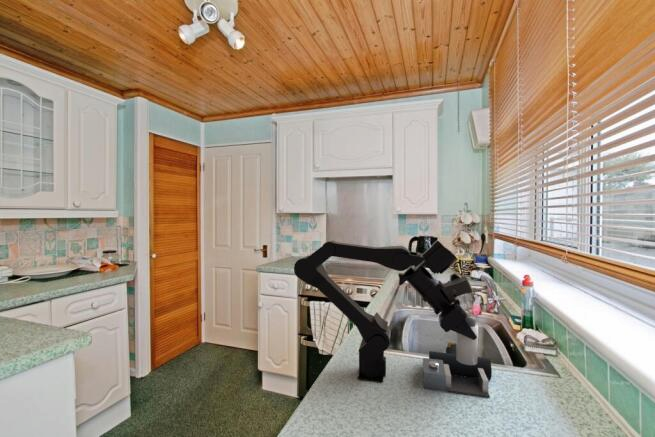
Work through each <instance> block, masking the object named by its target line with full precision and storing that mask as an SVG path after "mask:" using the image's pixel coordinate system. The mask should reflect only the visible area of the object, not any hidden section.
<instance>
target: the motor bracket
mask: <svg viewBox="0 0 655 437" xmlns="http://www.w3.org/2000/svg"><path fill="white" fill-rule="evenodd" d="M422 377H423V378H422V380H423V389H424V390H430V391H436V392H444V393H449V394H450V393H451V394H459V395H466V396H472V397H480V398H484V399H485V398H487V399H490V398H491V395H490V393H489V379H487V377H486V374H485V372H484V370H483V368H478V377H471V376H464V375H457V374H451V373H450V369H449V365H448V364H443V360H437V359H429V357H428V358H427V357H422Z"/></svg>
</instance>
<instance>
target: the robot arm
mask: <svg viewBox="0 0 655 437" xmlns="http://www.w3.org/2000/svg"><path fill="white" fill-rule="evenodd" d="M331 257H335V258H341V259H342V258H343V259H348V260H349V259H350V260H355V261H363V262H370V263H375V264H378V265H380V266H383V267H385V268H388V269H390V270H394V271H398V272H399V273H398V285H399V286H403V284H405V283H406V282H407V283H408V284H409V285H410V286H411V287H412V288H413V289H414V291H415V292H416V293H417V294H418V295H419V296H420V297H421V300H422V301H423V302H424V303H426V304H428V306H429V307H431V308H432V309H433V313H434V314H435V315H437V316H438V325H439V326H440V327H441V329H442V330H443V331H444V332H445V333H449V332H450V331H453V332H455V333H456V334H457V333H459V334H461V335H464V336H466V337H468V338H470V339H472V340H475V339H476V338H477V336H476V335H475V333H474V332H473V330H472V329H471V327H470V326H469V324H468V323H467V321H466V320H465V319H466V317H467V314H468V313H467V311H466V309H465V308H463V307H462V306H461V301H460V299H458V298H457V297H461V296H463V295H466V294H471V293H473V292H474V289H473V287H472V284H471V283H470V281H469V278H468V277H467V276H466V275H461V276H460V275H459V274H457V273H455V272H454V273H452V274H450V276H449V280H447V281H446V282H444V283H443V282H442V281H441V280H438V279H437V278H436V277H435V276H433V274H434V275H436V274H437V275H438V274H440V275H442V274H444V272H446V271H447V270H448V269H449V268H451V266H453V265H454V264H456V262H457V261H458V260H459V259H458V257H456V255H454V253H453V252H452V251H451V250H450V249H448V248H447V247H446V246H445V245H444V244H442V242H440V241H439V240H438V239H437V240H435V241H434V242H433V243H432V244H431V245H430V247H428V249H426V250H425V251H424V252H422V253H421V252H418V251H416V252H415V251H410V250H409V249H408V248H407V247H405V246H403V245H392V246H391V245H389V246H387V245H386V246H380V247H379V246H370V245H369V246H368V245H362V244H354V243H347V242H339V241H335V240H329V241H325V242H324V243H323V244H322V245H321V247H319V248H318V249H316V250H315V251H314V252H312V253H311V254H309V255H306V256H304V257H301V258H299V259H298V260H296V262H295V263H294V264H293V265H294V266H293V270H294V271H293V272H294V275H295V277H297V278H298V279H299V280H301V281H302V282H303V283H305V284H306V285H309V286H311V287H313V288H315V289H317V290H319V291H320V292H321V294H323V295H324V296H325V298H327V300H329V301H330V302H331V303H332V304H333V305H334V306H335V307H336V308H337V309H338V310H339V311H340V312H341V313H342V314H343V315H344V316H345V317H346V318H347V319H348V320H349V321H351V323H353V325H355V327H356V328H357V330H358V332H359V334H360V336H361V342H360V345H359V348H358V374H357V379H358V380H361V381H368V382H374V383H375V382H376V383H383V382H384V379H385V377H386V374H387V357H386V356H385V351H387V350H388V348H389V347H390V344H391V328H390V326H389V325H388V324H389V321H387V320H385V319H384V318H382V316H381V315H380V314H379V313H378V311H377V312H375V314H374V315H372V314H370V313H368V312H367V311H366V310H364V309H363V308H362V306H360V305H359V303H357V302H356V300H354V299H353V297H351V296H350V295H349V294H348V293H347V292H345V290H344V289H342V288H341V286H339V285H338V284H337V283H336V282H335V281H334V280H333V279H332V278H331V277H330V276H329V274H328V272H327V270H326V268H325V266H324V265H323V264H324V263H325V262H327V261H328V260H329V259H330V258H331ZM413 266H415V267H413ZM425 266H426V267H427V268H428V269H429V270H430V271H431V272H430V271H429V270H428V269H427V268H426V267H425ZM403 271H404V272H403Z"/></svg>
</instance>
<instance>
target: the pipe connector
mask: <svg viewBox="0 0 655 437" xmlns="http://www.w3.org/2000/svg"><path fill="white" fill-rule="evenodd" d="M428 352H429V353H428V358H429V359H437V360H443V364H448V365H449V369H450V373H451V374H453V375H461V376H469V377H477V378H478V368H483V370H484V372H485V374H486V377H487V379H488V380H491V379H492V373H493V371H492V363H491V360H490V358H488V357H482V356H478V359H477V364H476V365H466V364H462V363H460V362H458V361H457V360H456V342H450V341H449V342H447V346H446V348H445V352H440V351H431V350H429V351H428Z"/></svg>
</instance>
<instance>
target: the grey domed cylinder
mask: <svg viewBox="0 0 655 437" xmlns="http://www.w3.org/2000/svg"><path fill="white" fill-rule="evenodd" d="M465 320H466V321H467V323H468V324H469V326H470V327H471V329H472V330H473V332H474V333H475V335H476V336H477V338H476V339H475V340H472V339H470V338H468V337H466V336H464V335H461V334H459V333H457V332H456V342H455V343H456V360H457V361H458V362H460V363H462V364H466V365H476V364H477V359H478V357H479V356H478V355H479V353H478V351H479V324H478V323H476V320H477V317H476V316H475V315H474V314H471V313H470V314H469V313H467V317H466V319H465Z"/></svg>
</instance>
